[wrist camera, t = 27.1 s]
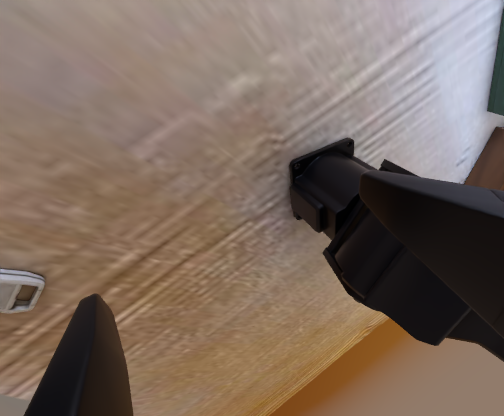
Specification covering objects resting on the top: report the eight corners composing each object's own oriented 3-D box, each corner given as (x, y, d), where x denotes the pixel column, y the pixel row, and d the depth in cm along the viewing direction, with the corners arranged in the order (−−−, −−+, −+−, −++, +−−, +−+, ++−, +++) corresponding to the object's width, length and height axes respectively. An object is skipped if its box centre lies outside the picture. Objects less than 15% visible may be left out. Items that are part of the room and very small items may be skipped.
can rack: (422, 256, 48) (445, 274, 45) (496, 126, 37) (532, 137, 34) (462, 245, 53) (485, 260, 50) (537, 128, 42) (572, 138, 39)
